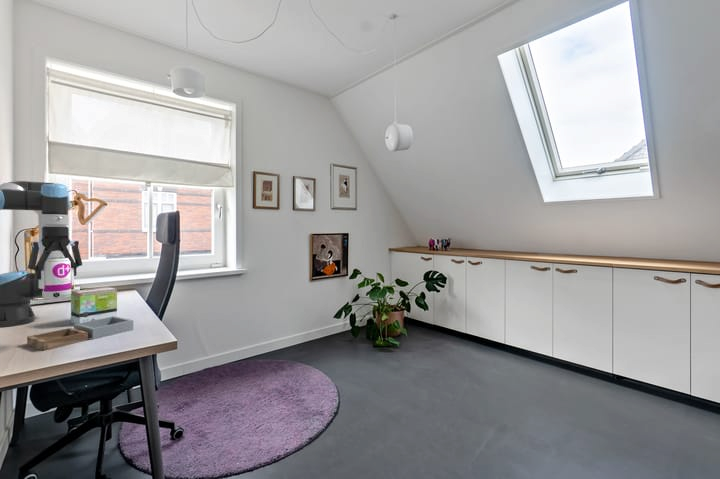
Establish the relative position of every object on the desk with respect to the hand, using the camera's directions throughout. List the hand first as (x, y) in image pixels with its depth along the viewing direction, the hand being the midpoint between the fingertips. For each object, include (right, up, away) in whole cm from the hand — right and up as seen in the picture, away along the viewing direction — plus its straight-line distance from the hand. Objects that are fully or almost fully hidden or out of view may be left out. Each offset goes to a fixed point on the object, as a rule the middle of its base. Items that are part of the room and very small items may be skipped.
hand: (56, 286), depth 131 cm
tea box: (-10, -21, +32) cm, 39 cm away
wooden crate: (0, -21, 0) cm, 21 cm away
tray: (+8, -21, +14) cm, 26 cm away
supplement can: (0, -4, 0) cm, 5 cm away
